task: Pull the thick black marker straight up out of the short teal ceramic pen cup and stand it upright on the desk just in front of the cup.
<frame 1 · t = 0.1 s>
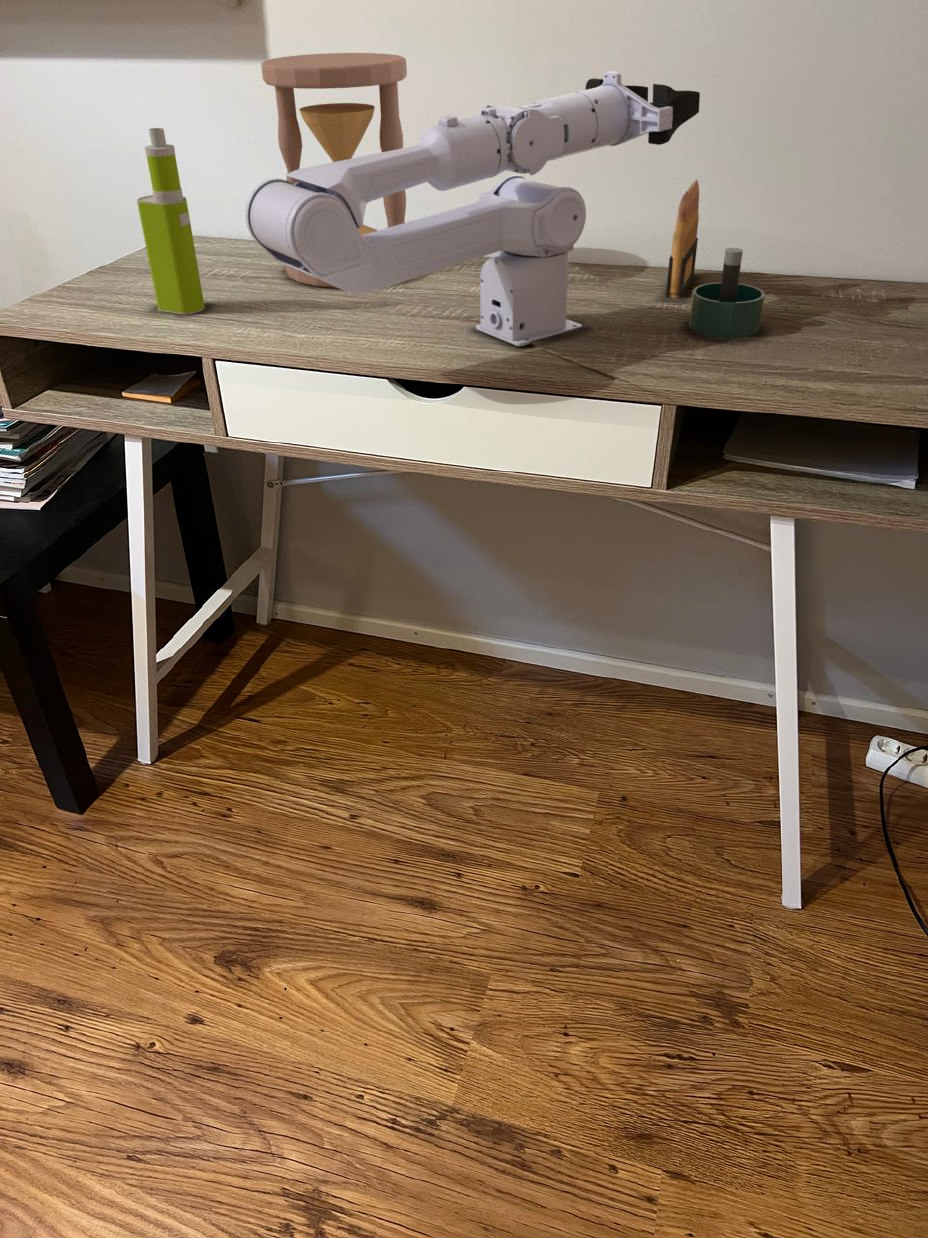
hand: (670, 99, 108), 22 cm above the table, tool horizontal, fingers open, 7 cm apart
vape: (182, 309, 120), on the table
hourglass: (351, 271, 133), on the table
marker: (724, 325, 109), resting on pen cup
pen cup: (723, 330, 109), on the table
ammunition clip: (679, 290, 123), on the table
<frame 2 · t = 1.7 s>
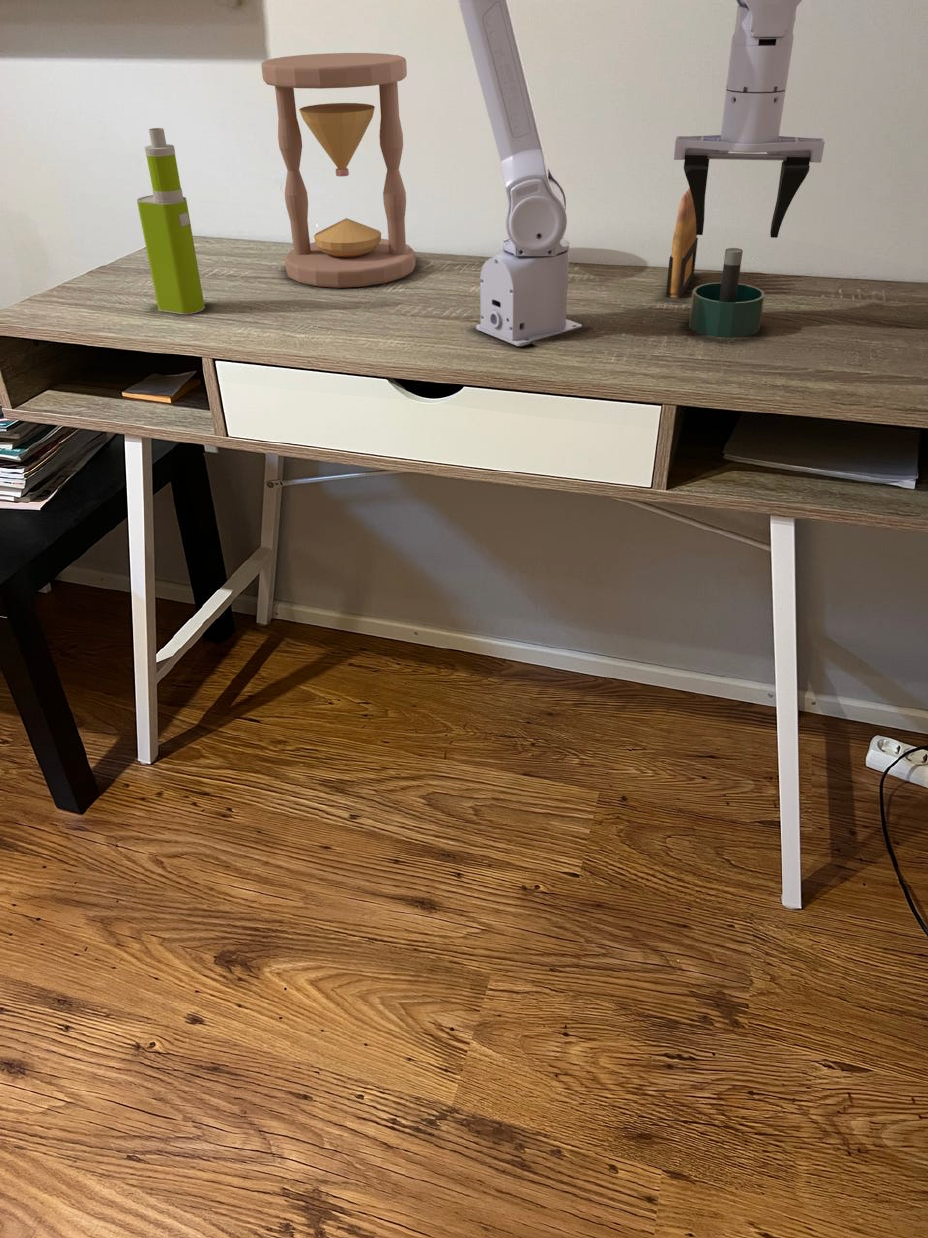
hand: (736, 233, 104), 10 cm above the table, tool pointing down, fingers open, 7 cm apart
nothing on the table moved.
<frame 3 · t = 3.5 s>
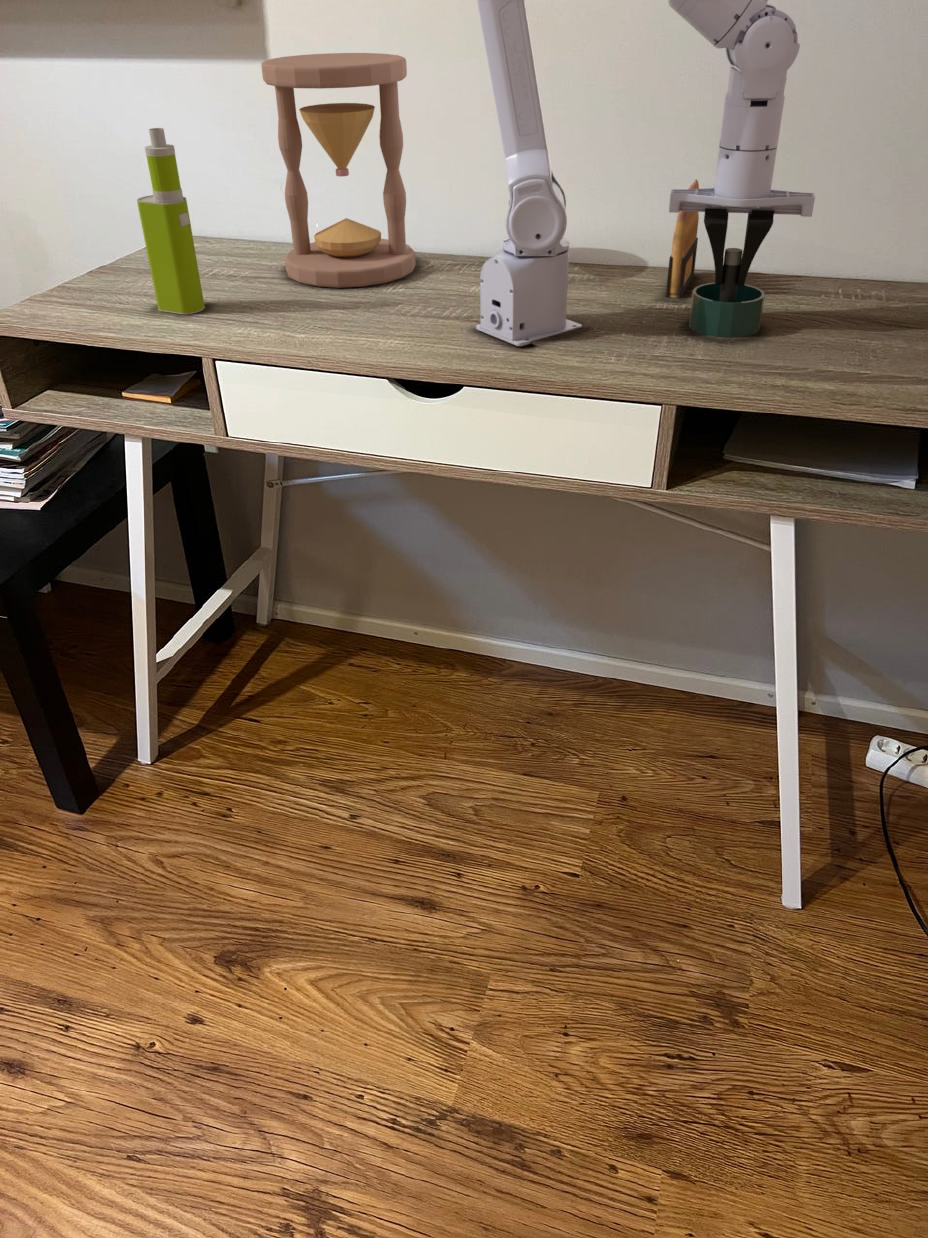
hand: (729, 282, 106), 5 cm above the table, tool pointing down, fingers closed on marker, 2 cm apart
marker: (723, 325, 109), point 1 cm above the table, touching gripper, pen cup
everything else where it was.
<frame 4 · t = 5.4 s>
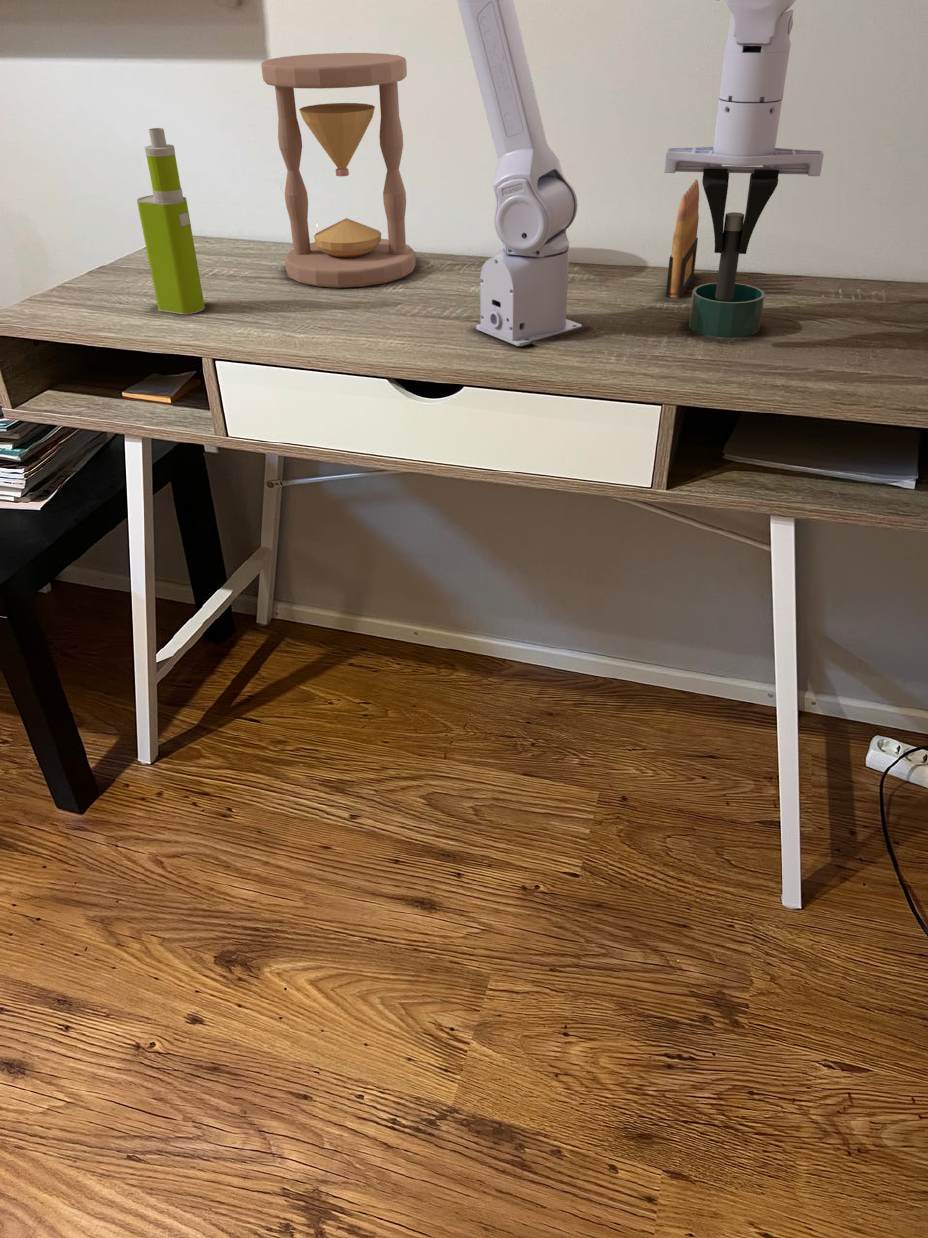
hand: (730, 250, 98), 10 cm above the table, tool pointing down, fingers closed on marker
marker: (724, 297, 101), point 6 cm above the table, touching gripper
everything else where it was.
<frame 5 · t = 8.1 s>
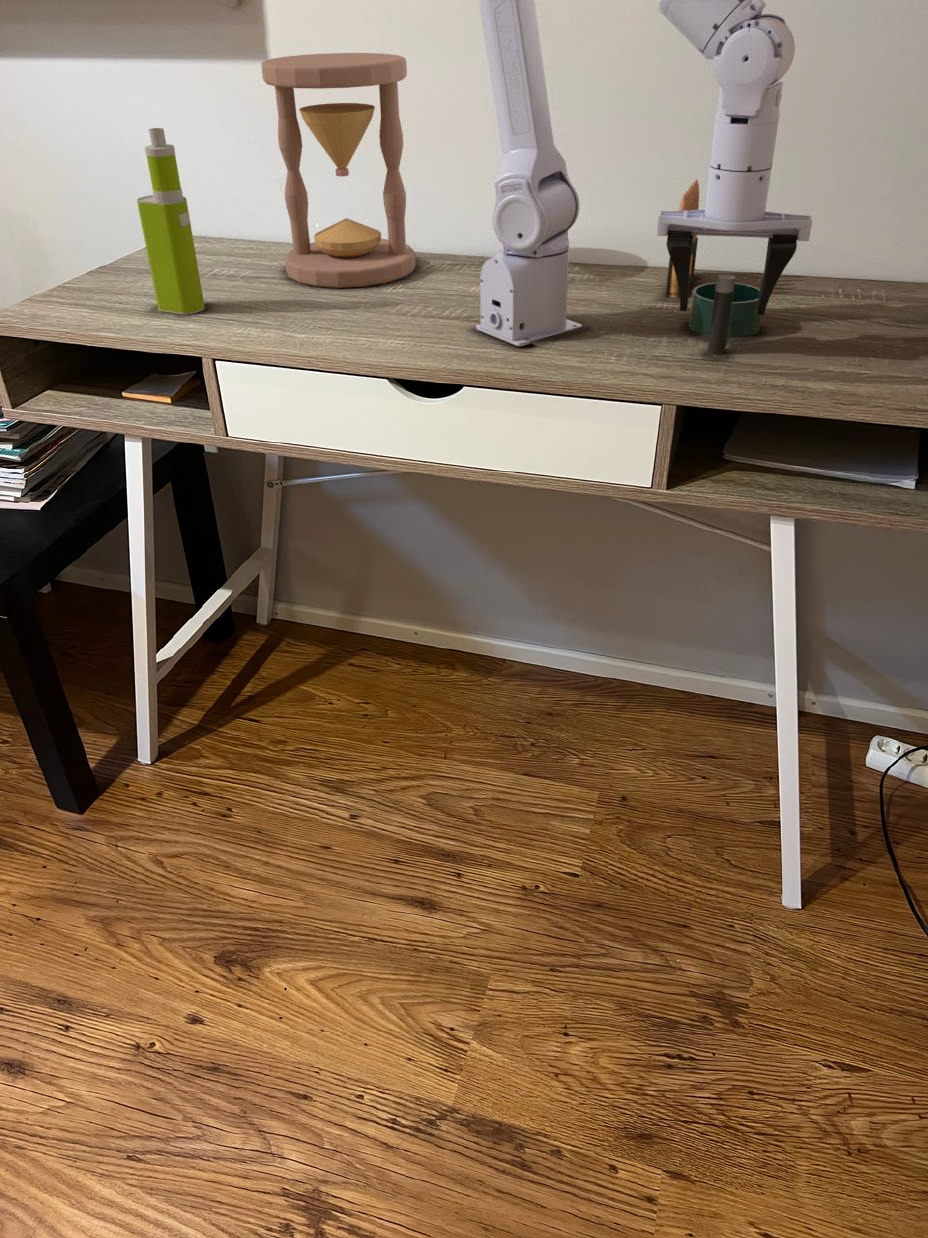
hand: (721, 310, 100), 5 cm above the table, tool pointing down, fingers open, 7 cm apart
marker: (715, 355, 103), on the table
everything else where it was.
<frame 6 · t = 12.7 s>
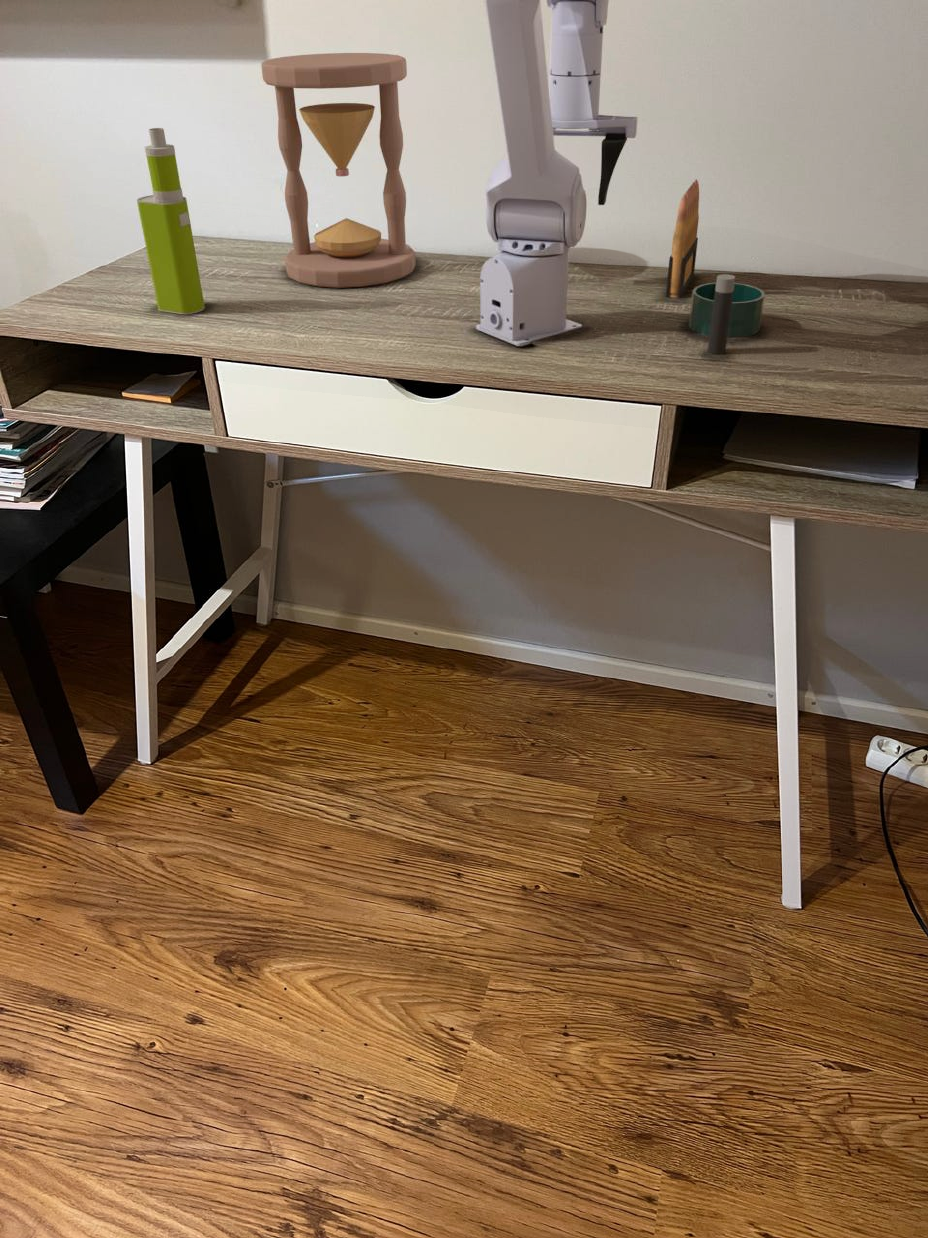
hand: (570, 202, 117), 10 cm above the table, tool pointing down, fingers open, 7 cm apart
nothing on the table moved.
at the end: marker inside the target area (0.0 cm from its centre), on the table; marker tilted 0°; the gripper is holding nothing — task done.
